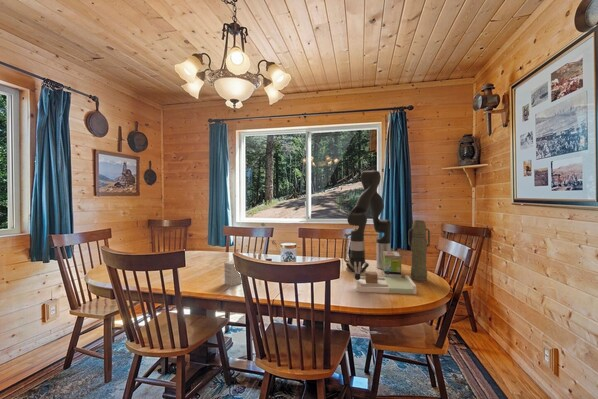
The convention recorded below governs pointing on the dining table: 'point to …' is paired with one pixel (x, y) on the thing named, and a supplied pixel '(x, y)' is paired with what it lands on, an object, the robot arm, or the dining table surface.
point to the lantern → (349, 252)
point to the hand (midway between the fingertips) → (357, 279)
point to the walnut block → (371, 277)
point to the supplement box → (231, 274)
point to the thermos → (419, 250)
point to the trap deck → (388, 285)
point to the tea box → (392, 264)
